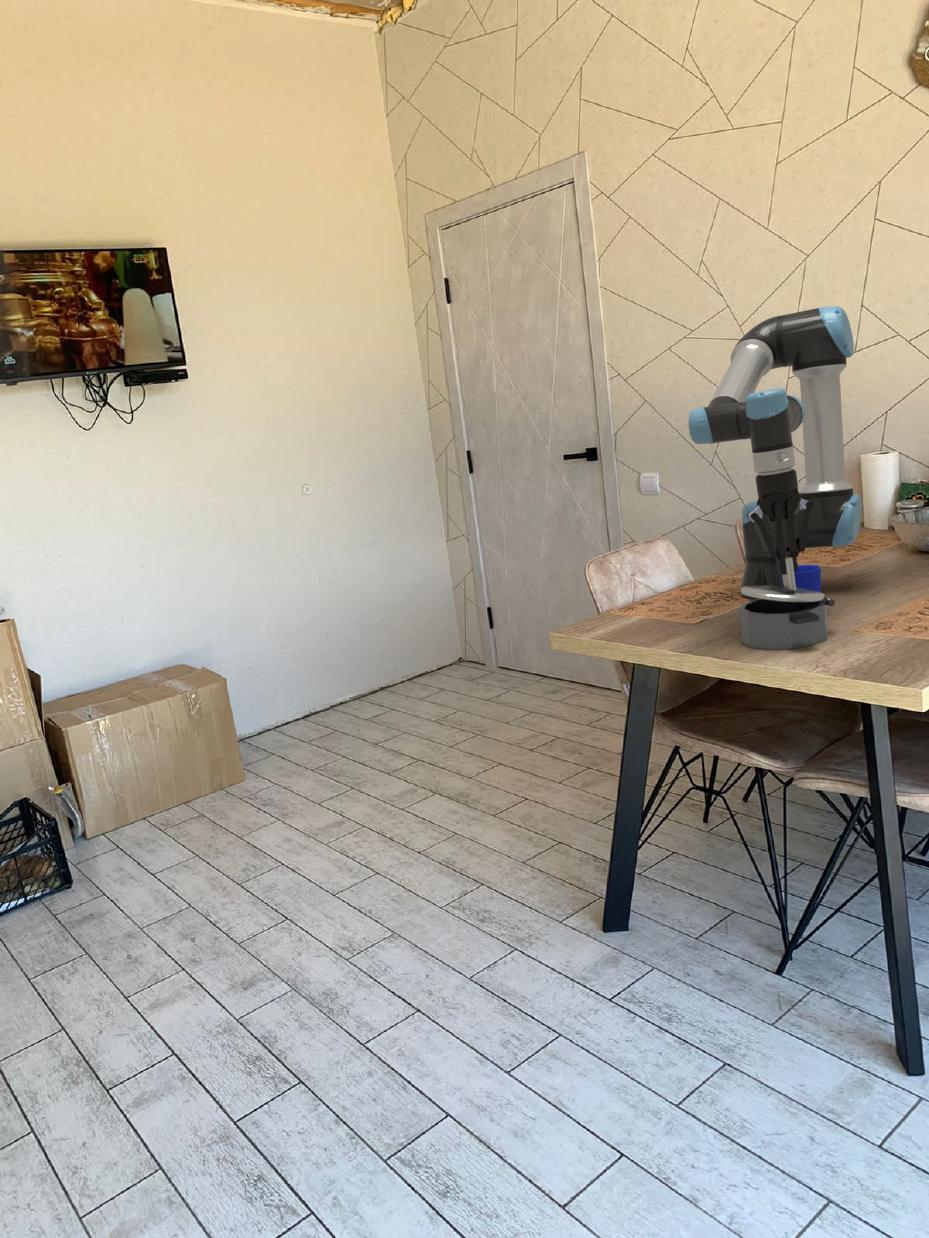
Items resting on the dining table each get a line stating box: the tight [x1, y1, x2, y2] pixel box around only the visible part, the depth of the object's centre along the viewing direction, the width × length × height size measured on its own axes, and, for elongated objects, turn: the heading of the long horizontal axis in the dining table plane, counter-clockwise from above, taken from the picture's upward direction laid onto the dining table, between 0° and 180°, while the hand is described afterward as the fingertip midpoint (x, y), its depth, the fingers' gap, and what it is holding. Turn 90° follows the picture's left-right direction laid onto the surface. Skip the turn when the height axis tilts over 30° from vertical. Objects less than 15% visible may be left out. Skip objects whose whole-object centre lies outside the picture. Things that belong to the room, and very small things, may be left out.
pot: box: [738, 596, 836, 651], centre depth 186 cm, size 22×18×7 cm
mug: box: [781, 564, 822, 593], centre depth 205 cm, size 8×12×10 cm
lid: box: [740, 585, 825, 602], centre depth 185 cm, size 16×16×2 cm
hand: (790, 589), depth 185 cm, fingers closed
